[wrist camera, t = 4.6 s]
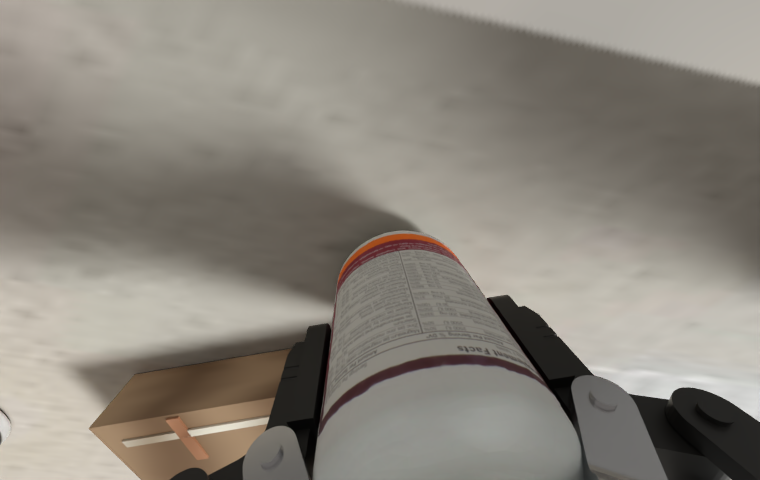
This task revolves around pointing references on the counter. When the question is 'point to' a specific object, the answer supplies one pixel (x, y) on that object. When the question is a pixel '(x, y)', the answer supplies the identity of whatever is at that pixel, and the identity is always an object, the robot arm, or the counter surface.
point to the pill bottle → (431, 378)
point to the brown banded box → (191, 415)
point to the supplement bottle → (4, 427)
